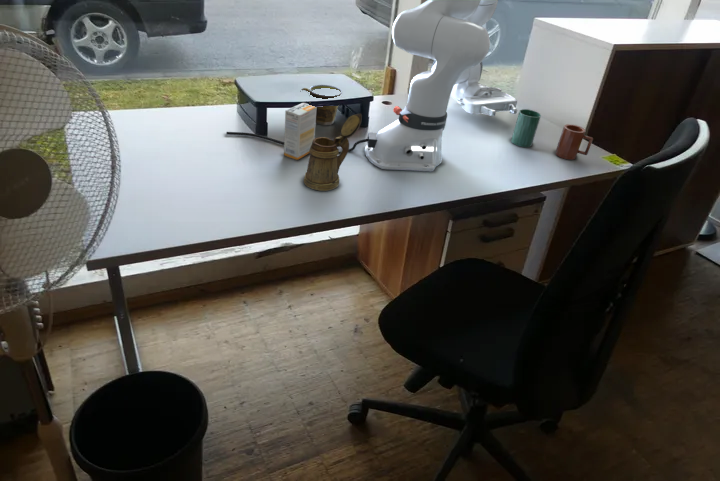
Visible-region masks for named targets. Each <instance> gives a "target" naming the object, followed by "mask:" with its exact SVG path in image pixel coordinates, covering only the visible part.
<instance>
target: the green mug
mask: <svg viewBox="0 0 720 481" xmlns="http://www.w3.org/2000/svg"><path fill="white" fill-rule="evenodd" d="M541 117H542V114H541V113H540V112H538V111H537V110H533V109H529V108H528V109H527V108H523V109H519V112H518V114H517V117H516V121H515V125H514V128H513V132H512V136H511V139H510V142H511V143H512V144H513V145H515V146H517V147H522V148H530V147H532V145H533V143H534V141H535V138H536V134H537V130H538V127H539V124H540V120H541Z"/></svg>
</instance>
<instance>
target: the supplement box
mask: <svg viewBox="0 0 720 481" xmlns="http://www.w3.org/2000/svg"><path fill="white" fill-rule="evenodd" d="M316 110H317V107H315V106H312V105H309V104H308V103H307V102H301V103H299V104H297V105H294V106H292V107H289V108H288V109H285V111H284V141H283V142H284V145H283V156H284V157H288V158H290V159H293V160H295V161H298V160H300V159H302V158H304V157H306V156H307V155H310V152H309V150H310V147H311V145H312V141H313V139H315V138H316V137H315V136H316V125H317V124H316Z"/></svg>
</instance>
